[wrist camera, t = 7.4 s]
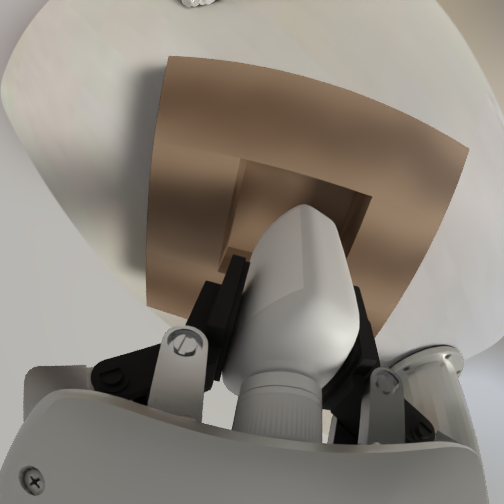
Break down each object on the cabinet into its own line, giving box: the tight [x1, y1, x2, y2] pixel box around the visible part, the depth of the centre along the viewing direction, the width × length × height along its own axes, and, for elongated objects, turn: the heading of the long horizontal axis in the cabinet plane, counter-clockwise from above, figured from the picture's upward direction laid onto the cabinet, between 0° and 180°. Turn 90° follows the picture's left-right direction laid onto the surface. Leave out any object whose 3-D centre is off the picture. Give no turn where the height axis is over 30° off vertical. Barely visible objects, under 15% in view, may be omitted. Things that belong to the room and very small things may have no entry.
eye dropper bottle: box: [222, 204, 359, 443], centre depth 10 cm, size 4×6×12 cm
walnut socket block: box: [146, 56, 469, 338], centre depth 18 cm, size 18×18×4 cm
